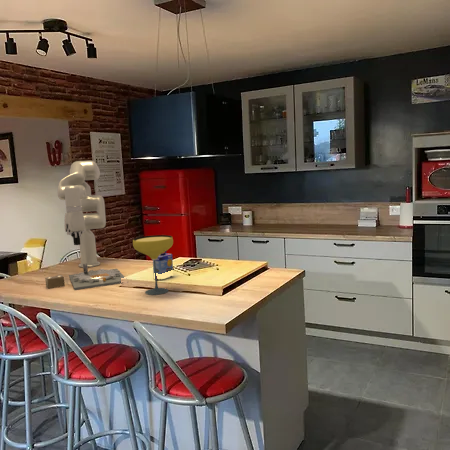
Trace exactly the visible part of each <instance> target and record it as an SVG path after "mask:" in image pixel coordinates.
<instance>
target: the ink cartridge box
mask: <svg viewBox="0 0 450 450" xmlns="http://www.w3.org/2000/svg"><path fill="white" fill-rule="evenodd" d="M173 259H174V258H173V254H172V253H167V251H165V252H163V253H162V254H160V255H159V256H158V258H157V259H156V260H155V264H156V273H158V274H162V273H165V272H168V271H171V270H173V271H174V265H173ZM152 267H153V268H152V269H153V270H152V272H153V274H154V273H155V269H154V260H152Z"/></svg>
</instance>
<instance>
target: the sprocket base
mask: <svg viewBox="0 0 450 450" xmlns="http://www.w3.org/2000/svg"><path fill="white" fill-rule="evenodd" d="M113 269H114V271H116V270H119V269H118V268H113ZM74 275H79V273H74V274H68V278H69V281H70V284H72V288H73V290H74V291H79V290H86V289H87V290H88V289H92V288H93V289H94V288H101V287H107V286H113V285H114V286H115V285H121V284H122V283H121V278H124V277H126V276H125V275H124V274H123V273H122V272H121V271H120V276H116V278H115V279H107V280H106V281H103V279H99V281H94V282H93V283H89V282H82V283H80V282H79V281H74V280H73V278H74ZM120 283H121V284H120Z"/></svg>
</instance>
